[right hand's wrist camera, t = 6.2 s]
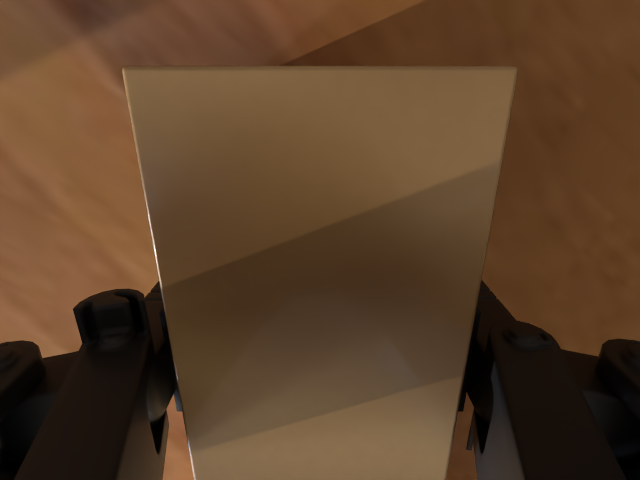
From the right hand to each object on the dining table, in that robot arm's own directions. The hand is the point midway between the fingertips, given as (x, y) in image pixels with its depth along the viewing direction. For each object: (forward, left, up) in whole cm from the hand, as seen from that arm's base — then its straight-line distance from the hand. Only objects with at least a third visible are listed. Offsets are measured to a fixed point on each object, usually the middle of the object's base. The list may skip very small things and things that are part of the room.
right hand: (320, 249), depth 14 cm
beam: (-9, -29, -1) cm, 30 cm away
